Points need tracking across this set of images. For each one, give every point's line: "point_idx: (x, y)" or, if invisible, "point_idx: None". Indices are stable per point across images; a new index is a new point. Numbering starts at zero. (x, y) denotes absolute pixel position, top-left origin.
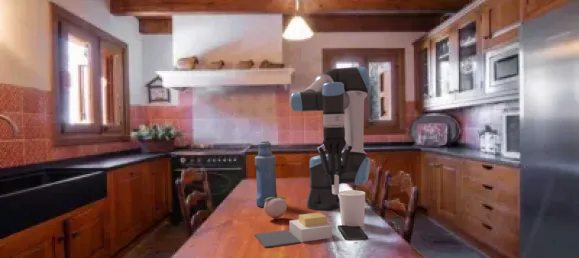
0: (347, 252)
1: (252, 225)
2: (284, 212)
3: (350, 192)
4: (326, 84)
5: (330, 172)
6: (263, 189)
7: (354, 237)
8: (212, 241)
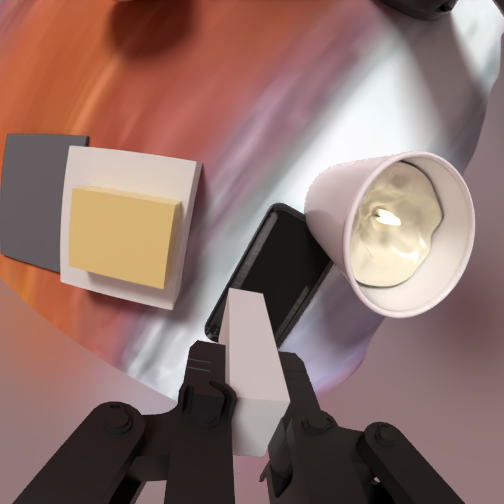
0: (156, 390)
1: (52, 30)
2: None
3: (449, 174)
4: None
5: (164, 468)
6: None
7: None
8: None
